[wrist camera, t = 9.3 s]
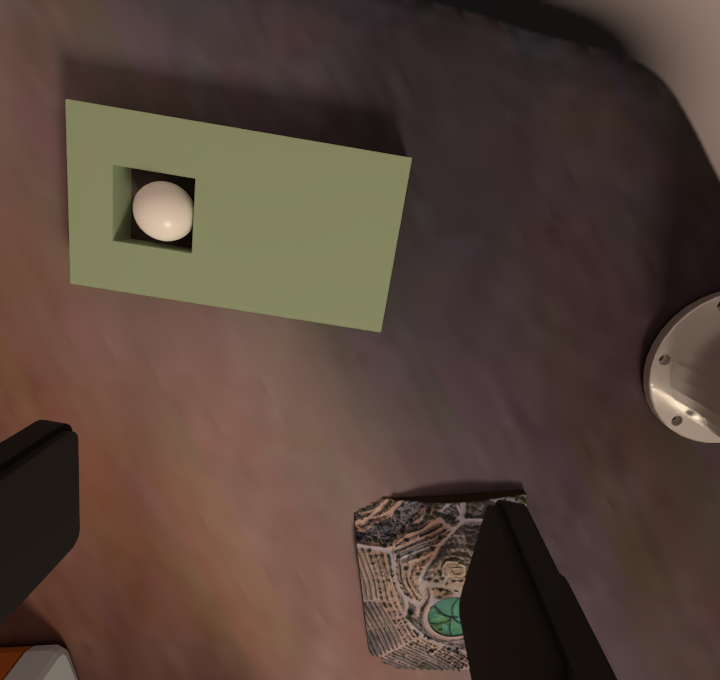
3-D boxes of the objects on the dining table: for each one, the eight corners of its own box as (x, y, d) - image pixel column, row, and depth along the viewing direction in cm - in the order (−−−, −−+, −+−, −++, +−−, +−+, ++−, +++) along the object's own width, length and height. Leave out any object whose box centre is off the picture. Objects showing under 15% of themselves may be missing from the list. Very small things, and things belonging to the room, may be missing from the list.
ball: (170, 181, 32) (210, 188, 31) (168, 236, 34) (206, 246, 32) (119, 173, 29) (160, 180, 27) (119, 235, 30) (158, 245, 28)
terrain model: (353, 494, 40) (352, 518, 37) (520, 483, 39) (534, 507, 36) (369, 662, 46) (370, 695, 42) (516, 655, 45) (527, 687, 42)
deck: (408, 161, 31) (411, 157, 29) (379, 323, 35) (380, 332, 32) (88, 107, 30) (65, 98, 28) (91, 278, 34) (70, 283, 31)
